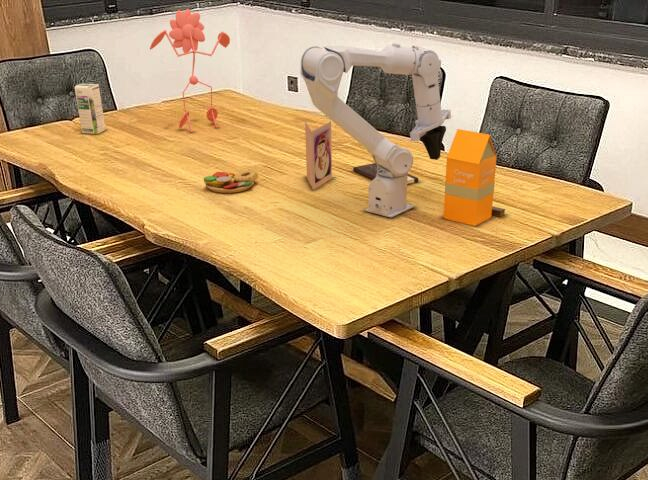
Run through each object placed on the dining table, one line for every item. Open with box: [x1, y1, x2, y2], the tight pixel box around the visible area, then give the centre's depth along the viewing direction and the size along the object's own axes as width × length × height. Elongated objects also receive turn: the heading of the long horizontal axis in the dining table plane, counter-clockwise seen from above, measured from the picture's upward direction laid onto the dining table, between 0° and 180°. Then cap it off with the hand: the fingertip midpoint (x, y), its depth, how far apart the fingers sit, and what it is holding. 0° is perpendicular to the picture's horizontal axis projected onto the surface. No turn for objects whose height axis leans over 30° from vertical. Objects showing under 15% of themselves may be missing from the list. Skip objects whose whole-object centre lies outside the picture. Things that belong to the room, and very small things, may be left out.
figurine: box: [149, 8, 234, 133], centre depth 266 cm, size 15×26×35 cm, turn 125°
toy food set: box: [203, 169, 259, 194], centre depth 220 cm, size 13×13×3 cm
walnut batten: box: [491, 205, 506, 218], centre depth 202 cm, size 2×12×2 cm, turn 50°
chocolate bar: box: [353, 162, 419, 185], centre depth 226 cm, size 9×1×18 cm
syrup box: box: [74, 83, 107, 135], centre depth 267 cm, size 6×6×14 cm
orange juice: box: [442, 128, 498, 227], centre depth 193 cm, size 8×9×20 cm
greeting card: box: [304, 120, 333, 191], centre depth 218 cm, size 11×7×15 cm, turn 155°
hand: (435, 158), depth 202 cm, fingers closed
